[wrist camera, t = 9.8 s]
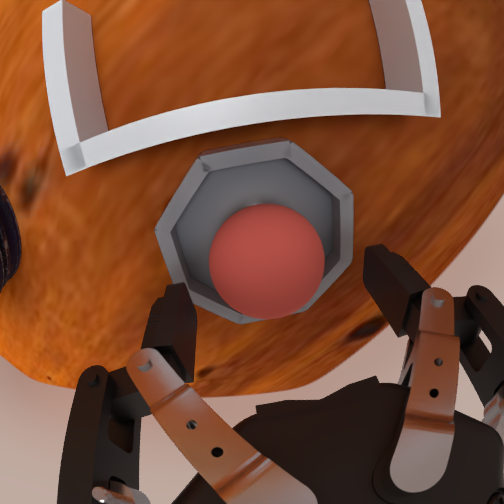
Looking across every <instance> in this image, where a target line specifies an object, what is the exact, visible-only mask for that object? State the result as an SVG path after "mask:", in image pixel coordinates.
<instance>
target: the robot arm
mask: <svg viewBox="0 0 504 504" xmlns="http://www.w3.org/2000/svg"><path fill="white" fill-rule="evenodd" d="M363 281H364V285H365V287H366V289H367V290H368V292H369V293H370V295H371V296H372V298H373V299H374V301H375V302H376V304H377V305H378V307H379V308H380V310H381V312H382V313H383V315H384V316H385V318H386V319H387V321H388V322H389V324H390V326H391V327H392V329H393V330H394V332H395V334H396V335H397V337H401V336H404V335H408V336H409V340H408V343H407V348H406V353H405V358H404V362H403V367H402V371H401V375H400V379H399V382H398V384H394V383H379V381H378V379H377V377H376V376H373V377H370V378H367V379H364V380H361V381H358V382H355V383H352V384H349V385H347V386H346V387H343V388H342V389H340V390H338V391H336V392H334V393H332V394H330V395H329V396H327V397H325V398H323V399H320V400H284V401H279V402H274V403H268V404H262V405H257V406H256V412H257V414H254V415H252V416H250V417H248V418H246V419H244V420H243V421H241V422H240V423H238V424H237V425H236V426H235V427H233V428H231V427H230V426H229V425H228V424H227V423H226V422H225V421H224V420H223V419H222V418H221V417H220V416H219V415H218V414H217V413H216V412H214V411H213V409H212V408H211V407H210V406H208V405H207V403H206V402H205V401H204V400H203V399H202V398H201V397H200V396H199V395H198V394H197V393H196V392H195V391H194V390H193V389H192V388H191V387H190V386H189V385H188V384H187V385H186V384H185V383H191V382H194V365H195V348H196V332H197V315H196V310H195V307H194V305H193V302H192V300H191V297H190V294H189V292H188V289H187V286H186V284H185V283H184V282H181V283H176V284H170V285H167V287H166V291H165V295H164V297H162V298H158V299H157V300H156V302H155V303H154V304H153V306H152V307H151V311H150V315H149V316H150V317H149V318H148V322H147V323H148V324H147V326H146V330H145V334H144V338H143V342H142V346H141V350H139V351H137V352H135V353H134V354H133V355H132V356H131V357H130V358H129V360H128V362H127V366H126V367H123V368H120V369H117V370H114V371H111V372H109V373H108V371H107V370H106V369H105V368H104V367H103V366H99V365H95V366H91V367H89V368H87V369H86V370H85V371H84V372H83V373H82V374H81V376H80V378H79V381H78V384H77V388H76V392H75V396H74V400H73V404H72V408H71V412H70V417H69V421H68V425H67V431H66V436H65V441H64V447H63V453H62V460H61V467H60V475H59V485H58V496H57V497H58V498H57V504H150V501H149V499H148V498H147V497H146V495H145V494H144V493H142V492H141V491H139V451H140V450H139V449H140V431H141V430H140V429H141V417H144V416H148V415H150V414H153V416H154V417H155V419H156V420H157V422H158V423H159V424H160V426H161V427H162V428H163V430H164V431H165V433H166V434H167V435H168V436H169V438H170V439H171V440H172V442H174V444H175V445H176V447H177V448H178V449H179V450H180V452H181V453H182V454H183V455H184V456H185V458H186V459H187V460H188V461H189V462H190V463H191V464H192V466H193V467H194V468H195V469H196V470H197V471H198V473H197V474H196V475H195V476H194V478H193V479H192V480H191V481H190V482H189V484H188V485H187V486H186V487H185V489H184V490H183V491H182V492H181V493H180V494H179V496H178V497H177V498H176V499H175V500H174V501H173V502H172V504H504V473H503V470H504V306H503V305H502V304H501V302H500V301H499V300H498V299H497V298H496V297H495V296H494V294H493V293H492V292H491V291H490V290H489V289H487V288H485V287H483V286H480V285H474V286H471V287H470V288H469V290H468V292H467V295H466V296H464V297H452V296H451V294H450V293H449V292H447V291H446V290H444V289H441V288H436V287H433V288H431V287H430V286H429V284H428V283H427V282H426V281H425V280H424V279H423V278H422V277H421V276H420V275H419V274H418V272H417V271H416V270H414V268H413V267H412V266H411V265H409V263H408V262H407V261H406V260H405V259H404V258H403V257H402V256H400V255H398V254H396V253H394V252H392V253H391V252H390V251H389V250H388V249H387V248H386V247H385V246H384V245H383V244H377V245H373V246H368V247H366V248H365V255H364V269H363ZM481 330H482V331H483V332H484V333H485V335H486V336H487V338H488V339H489V340H490V342H491V345H492V352H491V353H490V352H489V350H488V349H487V347H486V346H485V344H484V343H483V341H482V340H481V338H480V337H479V334H480V332H481ZM459 361H460V363H461V364H462V366H463V368H464V370H465V371H466V373H467V375H468V377H469V379H470V381H471V382H472V384H473V386H474V388H475V390H476V392H477V394H478V396H479V398H480V400H481V402H482V404H483V406H484V408H485V409H484V418H483V420H482V422H481V421H478V420H476V419H474V418H471V417H469V416H467V415H465V414H463V413H461V412H458V411H456V410H454V409H455V402H456V394H457V385H458V373H459Z"/></svg>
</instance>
